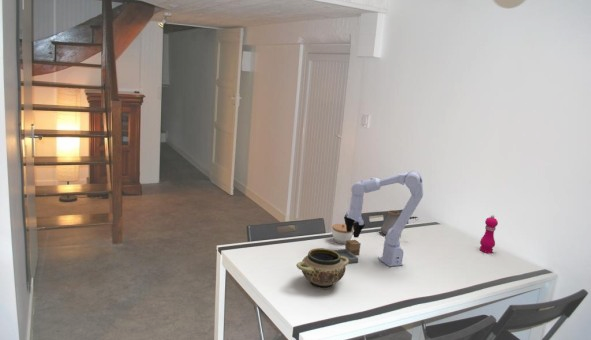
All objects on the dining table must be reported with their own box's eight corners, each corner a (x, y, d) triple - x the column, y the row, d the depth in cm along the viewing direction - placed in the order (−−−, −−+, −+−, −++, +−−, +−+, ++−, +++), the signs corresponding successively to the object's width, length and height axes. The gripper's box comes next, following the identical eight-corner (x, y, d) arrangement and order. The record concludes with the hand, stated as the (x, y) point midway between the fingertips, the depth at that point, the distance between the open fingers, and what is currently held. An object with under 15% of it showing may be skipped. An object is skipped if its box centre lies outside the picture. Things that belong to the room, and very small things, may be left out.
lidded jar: (352, 246, 229) (355, 228, 227) (331, 244, 229) (333, 226, 227) (350, 238, 239) (352, 221, 237) (330, 236, 239) (332, 219, 237)
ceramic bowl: (337, 279, 197) (335, 244, 197) (362, 287, 181) (360, 249, 181) (286, 287, 185) (285, 250, 185) (308, 297, 169) (307, 256, 169)
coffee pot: (375, 232, 253) (379, 206, 249) (389, 229, 260) (392, 204, 257) (406, 246, 237) (410, 218, 233) (420, 242, 244) (424, 215, 241)
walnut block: (359, 255, 218) (360, 243, 217) (349, 256, 216) (351, 244, 215) (353, 251, 223) (355, 239, 222) (344, 251, 221) (346, 240, 220)
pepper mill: (490, 249, 244) (497, 213, 239) (495, 254, 237) (502, 217, 232) (477, 247, 244) (483, 212, 240) (481, 252, 237) (487, 216, 233)
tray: (357, 262, 209) (358, 258, 209) (336, 264, 205) (337, 260, 204) (345, 253, 219) (346, 248, 218) (325, 255, 214) (326, 250, 214)
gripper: (341, 202, 220) (338, 229, 223) (355, 212, 207) (351, 240, 210) (354, 202, 223) (351, 228, 226) (369, 211, 210) (365, 239, 213)
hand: (352, 234), depth 218 cm, fingers open, 7 cm apart
